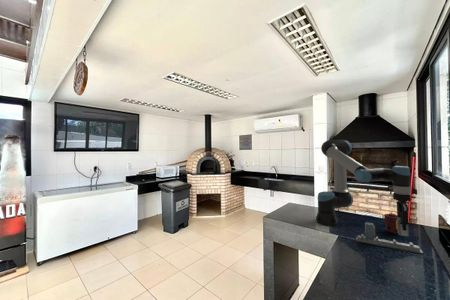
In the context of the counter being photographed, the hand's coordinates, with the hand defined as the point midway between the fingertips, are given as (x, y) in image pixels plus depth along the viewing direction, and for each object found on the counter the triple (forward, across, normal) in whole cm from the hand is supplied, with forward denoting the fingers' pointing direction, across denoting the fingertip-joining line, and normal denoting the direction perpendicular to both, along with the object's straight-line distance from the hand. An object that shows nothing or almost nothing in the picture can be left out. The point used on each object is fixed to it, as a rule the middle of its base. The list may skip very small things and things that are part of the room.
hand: (403, 233), depth 110 cm
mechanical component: (+9, -24, 0) cm, 26 cm away
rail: (+8, 0, -7) cm, 11 cm away
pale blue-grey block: (0, 0, 0) cm, 0 cm away
